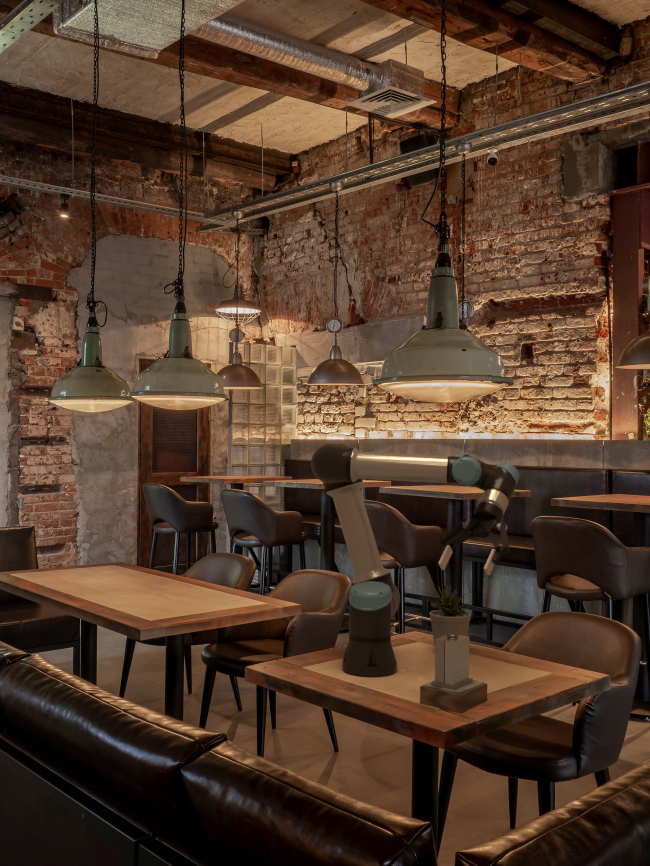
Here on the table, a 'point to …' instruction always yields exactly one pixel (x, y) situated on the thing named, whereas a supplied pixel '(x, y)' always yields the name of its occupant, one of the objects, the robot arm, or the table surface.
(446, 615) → the potted plant
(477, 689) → the stand
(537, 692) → the table surface
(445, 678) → the housing
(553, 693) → the table surface
